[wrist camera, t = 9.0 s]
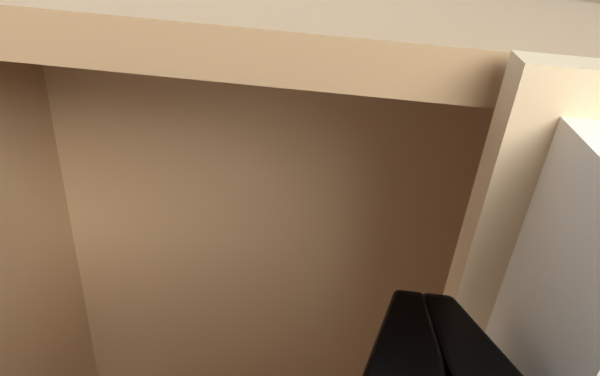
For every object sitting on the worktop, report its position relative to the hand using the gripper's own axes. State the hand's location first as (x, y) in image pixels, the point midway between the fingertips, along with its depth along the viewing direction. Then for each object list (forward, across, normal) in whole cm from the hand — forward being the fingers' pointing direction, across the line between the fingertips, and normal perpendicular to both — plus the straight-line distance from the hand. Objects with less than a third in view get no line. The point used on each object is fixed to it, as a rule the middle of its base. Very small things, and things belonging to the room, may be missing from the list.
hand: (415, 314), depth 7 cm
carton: (+8, +3, +5) cm, 9 cm away
